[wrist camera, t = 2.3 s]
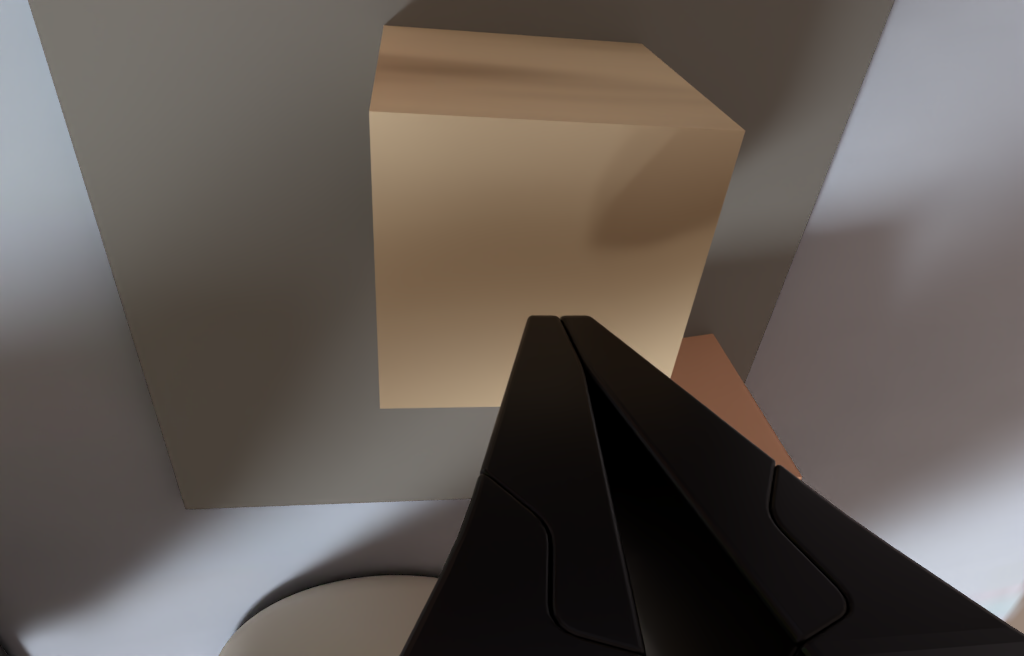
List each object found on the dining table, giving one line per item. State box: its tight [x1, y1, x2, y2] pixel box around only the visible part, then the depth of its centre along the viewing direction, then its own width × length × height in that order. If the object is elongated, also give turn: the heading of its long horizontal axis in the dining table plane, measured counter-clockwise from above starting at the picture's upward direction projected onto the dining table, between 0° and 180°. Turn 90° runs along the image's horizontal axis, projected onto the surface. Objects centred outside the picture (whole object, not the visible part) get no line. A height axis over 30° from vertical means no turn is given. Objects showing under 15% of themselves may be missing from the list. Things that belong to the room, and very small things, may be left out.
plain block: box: [369, 25, 745, 409], centre depth 12 cm, size 5×5×5 cm
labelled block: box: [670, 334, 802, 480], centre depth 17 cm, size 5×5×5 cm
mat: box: [28, 0, 894, 509], centre depth 14 cm, size 22×16×1 cm
